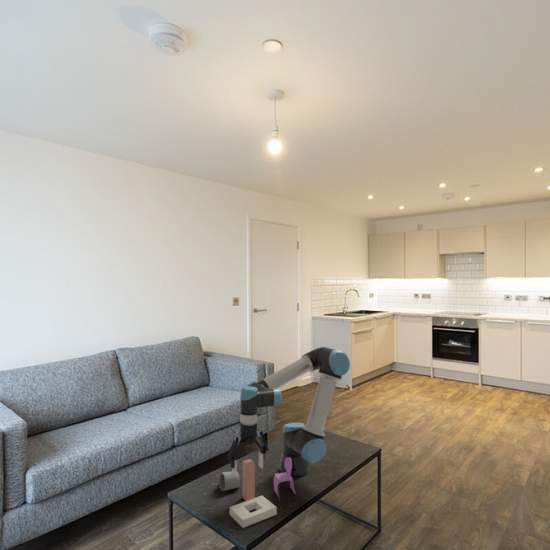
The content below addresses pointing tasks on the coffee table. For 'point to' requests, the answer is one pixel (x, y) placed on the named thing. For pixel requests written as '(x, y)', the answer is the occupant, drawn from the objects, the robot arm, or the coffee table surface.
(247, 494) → the peg
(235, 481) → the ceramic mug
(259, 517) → the socket block
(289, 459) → the toy chair
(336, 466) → the coffee table surface
